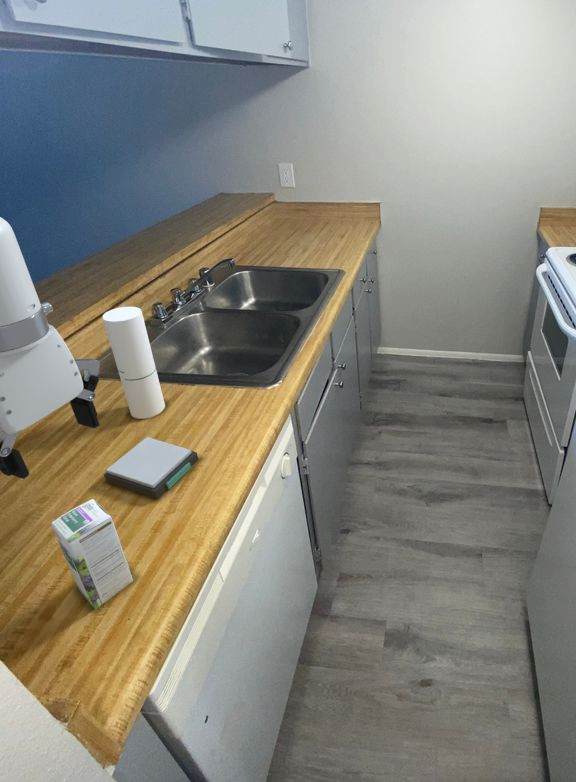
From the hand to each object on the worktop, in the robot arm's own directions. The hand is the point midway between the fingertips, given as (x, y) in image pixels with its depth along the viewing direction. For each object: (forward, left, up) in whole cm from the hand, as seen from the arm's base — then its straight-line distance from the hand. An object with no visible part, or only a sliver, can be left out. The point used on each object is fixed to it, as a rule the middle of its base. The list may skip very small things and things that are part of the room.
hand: (55, 448), depth 60 cm
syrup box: (0, -1, -27) cm, 27 cm away
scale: (-11, +20, -27) cm, 35 cm away
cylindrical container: (-27, +35, -27) cm, 52 cm away
